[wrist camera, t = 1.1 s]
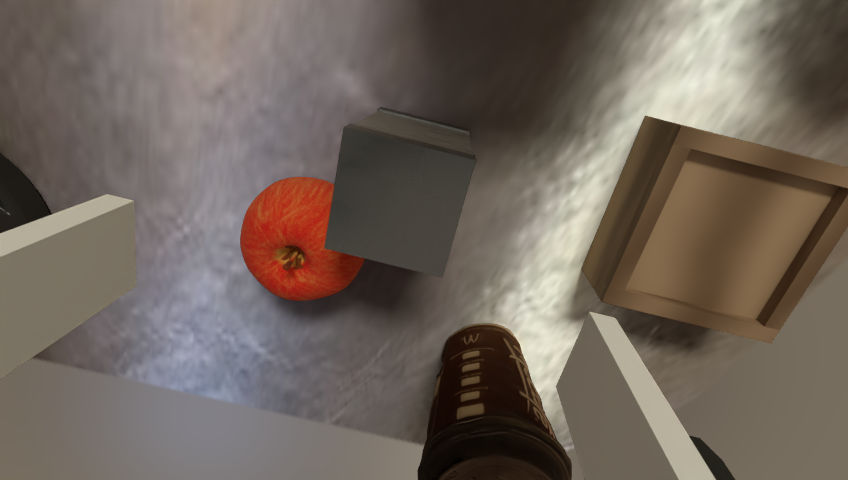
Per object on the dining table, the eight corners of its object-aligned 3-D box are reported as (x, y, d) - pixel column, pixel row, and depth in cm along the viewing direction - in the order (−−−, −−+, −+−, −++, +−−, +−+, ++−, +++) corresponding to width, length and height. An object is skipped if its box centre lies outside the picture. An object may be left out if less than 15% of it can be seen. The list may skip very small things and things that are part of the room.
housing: (364, 193, 31) (324, 248, 21) (381, 106, 28) (343, 127, 19) (447, 213, 31) (442, 277, 22) (470, 129, 29) (475, 160, 19)
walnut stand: (581, 268, 32) (602, 301, 27) (645, 115, 27) (681, 125, 23) (727, 304, 32) (771, 343, 27) (812, 158, 28) (880, 176, 23)
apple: (332, 143, 30) (290, 170, 22) (398, 238, 32) (380, 291, 24) (246, 202, 32) (181, 244, 24) (313, 287, 34) (272, 350, 26)
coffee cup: (477, 414, 37) (486, 581, 25) (406, 355, 36) (380, 504, 24) (557, 357, 35) (611, 513, 22) (485, 290, 33) (501, 420, 21)
